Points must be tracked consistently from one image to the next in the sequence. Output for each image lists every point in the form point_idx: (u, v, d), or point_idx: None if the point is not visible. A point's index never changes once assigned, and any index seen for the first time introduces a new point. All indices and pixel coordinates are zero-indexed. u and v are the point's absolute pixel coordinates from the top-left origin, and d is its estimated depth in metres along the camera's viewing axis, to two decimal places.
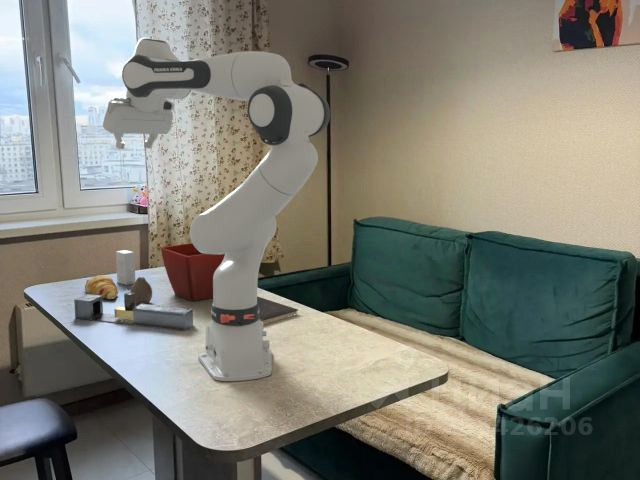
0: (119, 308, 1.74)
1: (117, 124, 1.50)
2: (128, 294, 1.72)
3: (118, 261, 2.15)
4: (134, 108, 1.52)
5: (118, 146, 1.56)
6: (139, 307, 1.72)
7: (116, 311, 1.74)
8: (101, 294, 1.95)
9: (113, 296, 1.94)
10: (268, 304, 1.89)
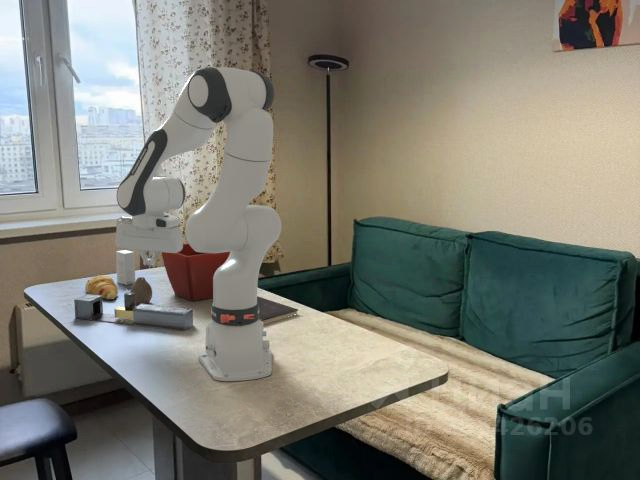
0: (119, 308, 1.74)
1: (120, 240, 1.69)
2: (128, 294, 1.72)
3: (118, 261, 2.15)
4: (133, 226, 1.67)
5: None
6: (139, 307, 1.72)
7: (116, 311, 1.74)
8: (101, 294, 1.95)
9: (113, 296, 1.94)
10: (268, 304, 1.89)
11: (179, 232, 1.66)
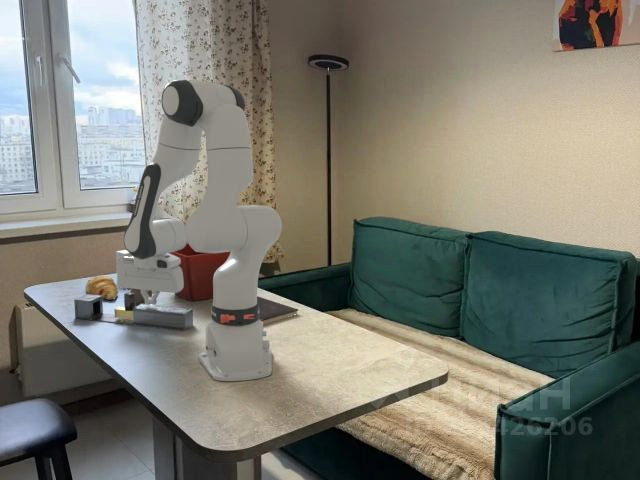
0: (119, 308, 1.74)
1: (121, 279, 1.71)
2: (128, 294, 1.72)
3: None
4: (135, 266, 1.69)
5: None
6: (139, 307, 1.72)
7: (116, 311, 1.74)
8: (101, 294, 1.95)
9: (112, 296, 1.94)
10: (268, 304, 1.89)
11: (180, 272, 1.69)
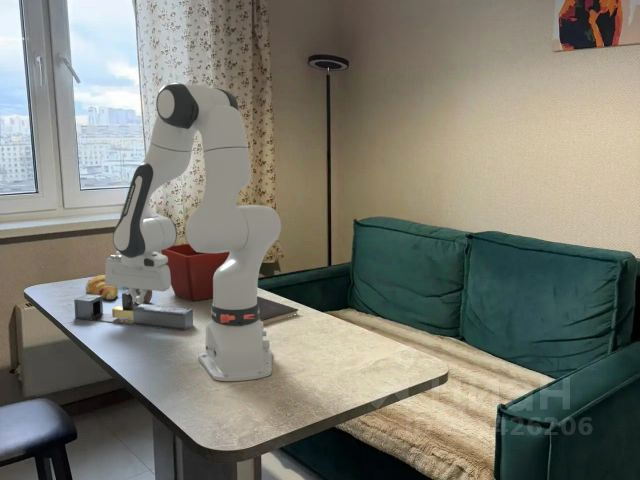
0: (117, 308, 1.75)
1: (109, 278, 1.72)
2: (125, 294, 1.72)
3: None
4: (122, 264, 1.70)
5: None
6: (139, 307, 1.72)
7: (114, 311, 1.74)
8: (101, 294, 1.95)
9: (112, 296, 1.94)
10: (268, 304, 1.89)
11: (167, 270, 1.70)
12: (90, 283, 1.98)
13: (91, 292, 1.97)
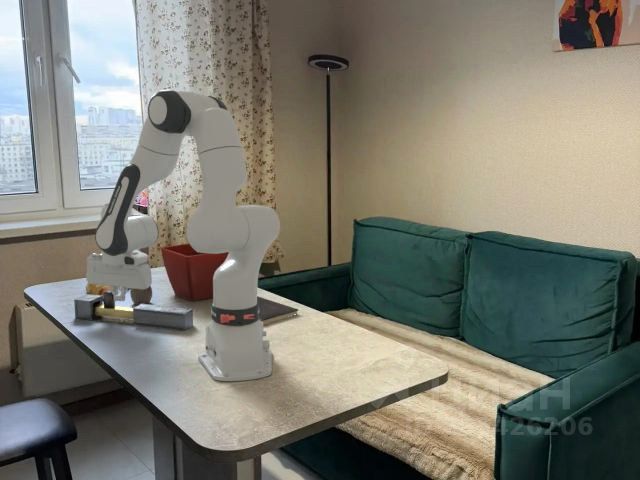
0: (98, 306, 1.76)
1: (91, 276, 1.73)
2: (107, 292, 1.74)
3: None
4: (103, 262, 1.72)
5: None
6: (139, 307, 1.72)
7: (95, 309, 1.75)
8: (101, 294, 1.95)
9: None
10: (268, 304, 1.89)
11: (148, 269, 1.71)
12: None
13: (91, 292, 1.97)
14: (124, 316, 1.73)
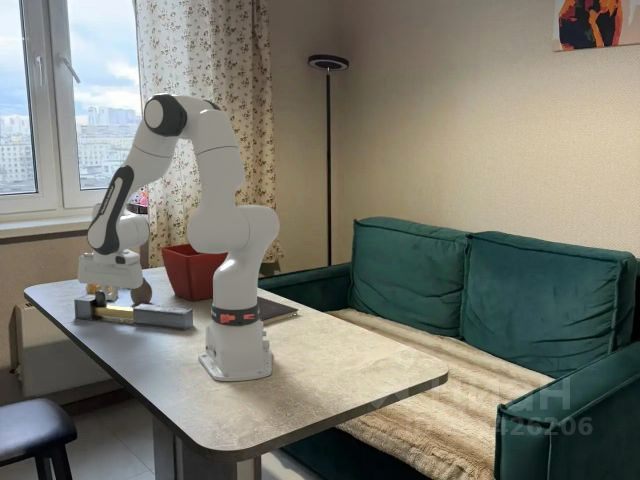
0: None
1: (82, 275, 1.74)
2: (98, 291, 1.74)
3: None
4: (95, 262, 1.72)
5: None
6: (139, 307, 1.72)
7: None
8: None
9: None
10: (268, 304, 1.89)
11: (139, 268, 1.72)
12: None
13: (91, 292, 1.97)
14: (116, 315, 1.74)
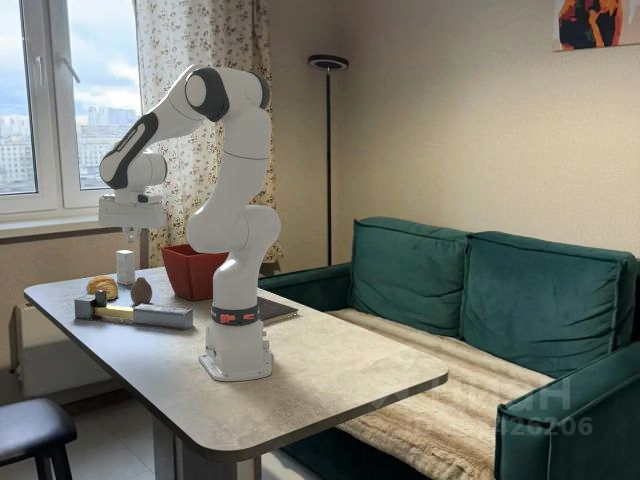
0: None
1: (103, 217, 1.70)
2: (98, 291, 1.74)
3: (118, 261, 2.15)
4: (116, 203, 1.68)
5: None
6: (139, 307, 1.72)
7: None
8: None
9: (112, 296, 1.93)
10: (268, 304, 1.89)
11: (161, 208, 1.68)
12: (90, 283, 1.98)
13: (91, 292, 1.97)
14: (116, 315, 1.74)
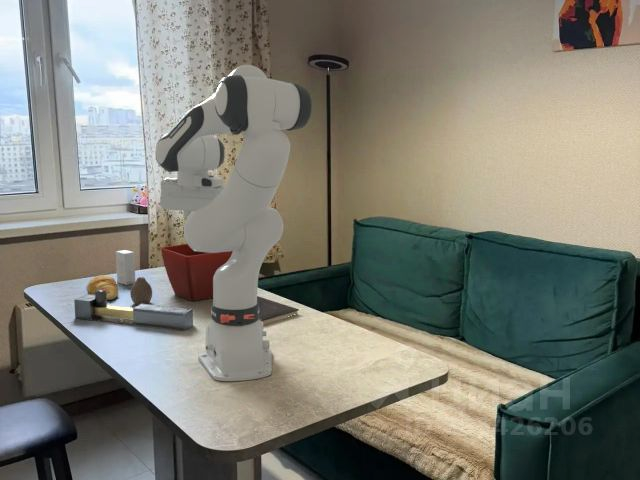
0: None
1: (165, 200, 1.71)
2: (98, 291, 1.74)
3: (118, 261, 2.15)
4: (178, 186, 1.69)
5: None
6: (139, 307, 1.72)
7: None
8: None
9: (111, 296, 1.93)
10: (269, 304, 1.89)
11: None
12: (91, 283, 1.98)
13: (91, 292, 1.97)
14: (116, 315, 1.74)
